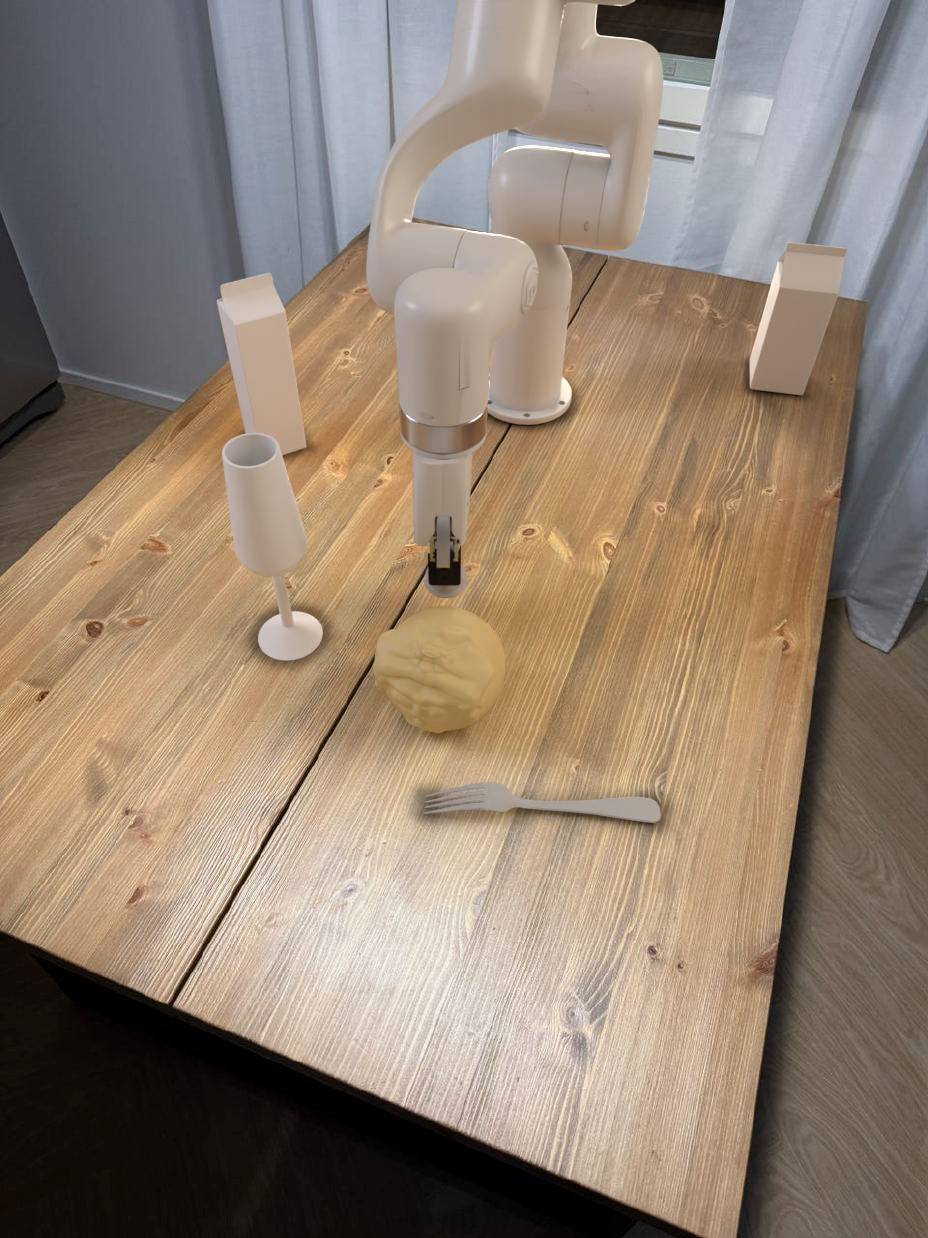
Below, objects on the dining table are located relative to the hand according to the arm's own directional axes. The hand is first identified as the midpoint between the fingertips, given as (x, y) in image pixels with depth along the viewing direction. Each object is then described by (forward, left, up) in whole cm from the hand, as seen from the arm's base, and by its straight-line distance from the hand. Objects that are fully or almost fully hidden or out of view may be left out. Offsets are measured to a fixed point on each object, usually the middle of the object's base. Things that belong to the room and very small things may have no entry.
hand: (445, 566), depth 90 cm
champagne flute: (+4, -16, -6) cm, 18 cm away
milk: (-28, -22, -6) cm, 36 cm away
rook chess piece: (0, 0, -3) cm, 3 cm away
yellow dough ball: (+12, 0, -6) cm, 14 cm away
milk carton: (-43, +45, -6) cm, 63 cm away
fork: (+24, +9, -6) cm, 26 cm away
